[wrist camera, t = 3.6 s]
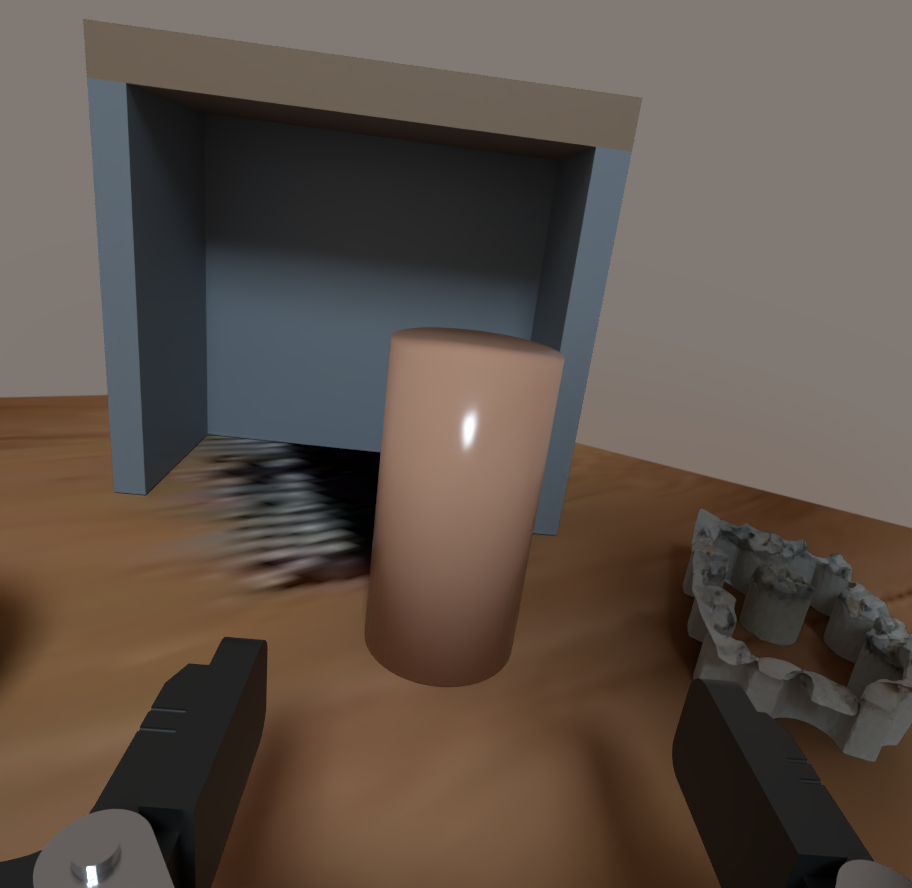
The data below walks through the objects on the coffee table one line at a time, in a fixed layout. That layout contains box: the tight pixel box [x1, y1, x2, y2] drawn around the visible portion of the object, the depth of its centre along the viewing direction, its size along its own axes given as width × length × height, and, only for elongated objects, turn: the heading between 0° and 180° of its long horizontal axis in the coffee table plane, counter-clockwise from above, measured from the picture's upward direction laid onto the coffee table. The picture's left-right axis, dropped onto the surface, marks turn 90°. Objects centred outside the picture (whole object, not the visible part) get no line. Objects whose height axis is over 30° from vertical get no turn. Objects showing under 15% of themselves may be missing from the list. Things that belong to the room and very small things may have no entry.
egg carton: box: [683, 509, 912, 762], centre depth 25 cm, size 11×8×4 cm
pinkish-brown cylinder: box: [365, 327, 565, 687], centre depth 22 cm, size 6×6×11 cm
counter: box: [83, 19, 642, 535], centre depth 34 cm, size 22×10×20 cm, turn 91°
